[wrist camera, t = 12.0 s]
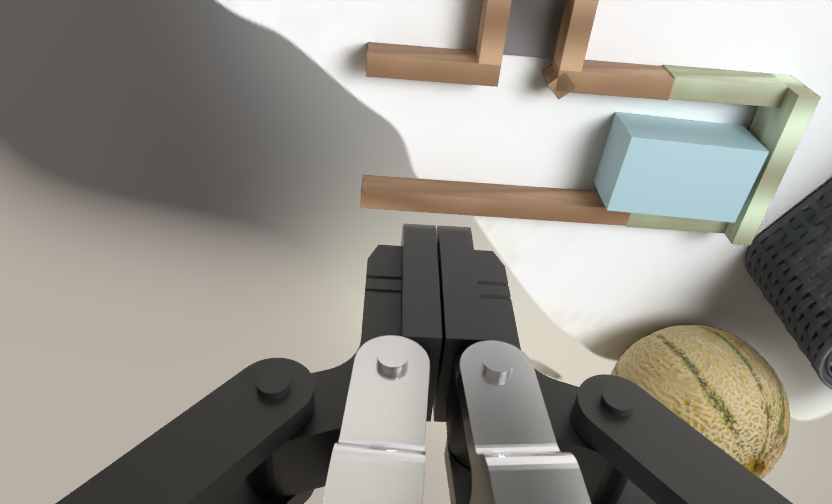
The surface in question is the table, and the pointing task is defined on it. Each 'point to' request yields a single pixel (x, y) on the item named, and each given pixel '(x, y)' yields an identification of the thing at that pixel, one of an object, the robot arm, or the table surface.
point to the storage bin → (800, 276)
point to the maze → (567, 44)
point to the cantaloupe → (714, 390)
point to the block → (678, 167)
